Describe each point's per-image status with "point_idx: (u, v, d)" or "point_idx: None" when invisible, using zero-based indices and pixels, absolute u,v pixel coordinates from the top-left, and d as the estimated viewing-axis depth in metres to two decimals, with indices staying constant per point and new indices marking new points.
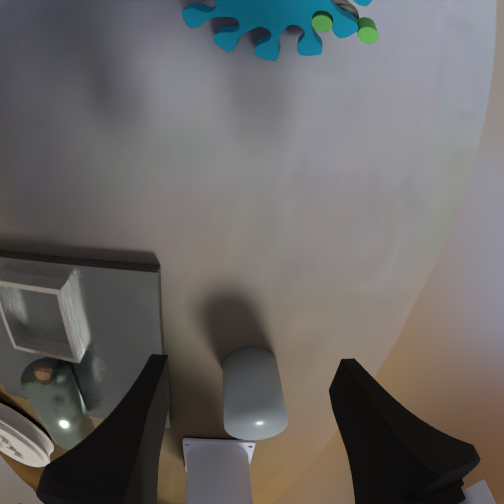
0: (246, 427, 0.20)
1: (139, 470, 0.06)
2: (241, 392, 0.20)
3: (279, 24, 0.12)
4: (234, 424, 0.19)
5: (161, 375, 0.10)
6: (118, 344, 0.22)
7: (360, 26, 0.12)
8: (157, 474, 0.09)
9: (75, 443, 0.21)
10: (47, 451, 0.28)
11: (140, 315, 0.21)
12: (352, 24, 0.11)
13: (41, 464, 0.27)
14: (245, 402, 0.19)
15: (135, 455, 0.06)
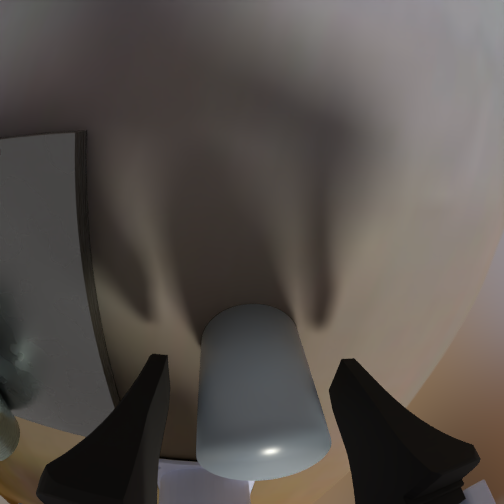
0: (243, 460, 0.09)
1: (139, 470, 0.06)
2: (232, 388, 0.09)
3: None
4: (217, 455, 0.09)
5: (161, 375, 0.10)
6: (22, 293, 0.11)
7: None
8: (157, 474, 0.09)
9: None
10: None
11: (48, 229, 0.10)
12: None
13: None
14: (240, 410, 0.08)
15: (135, 455, 0.06)
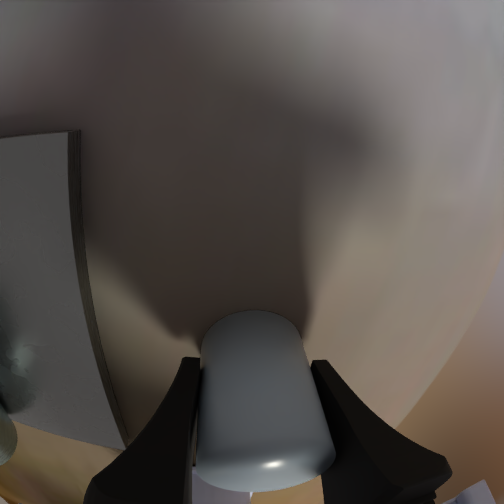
0: (245, 473, 0.08)
1: (186, 475, 0.06)
2: (233, 400, 0.09)
3: None
4: (218, 469, 0.08)
5: (197, 378, 0.10)
6: (17, 298, 0.10)
7: None
8: None
9: None
10: None
11: (41, 233, 0.09)
12: None
13: None
14: (242, 424, 0.08)
15: (184, 461, 0.06)
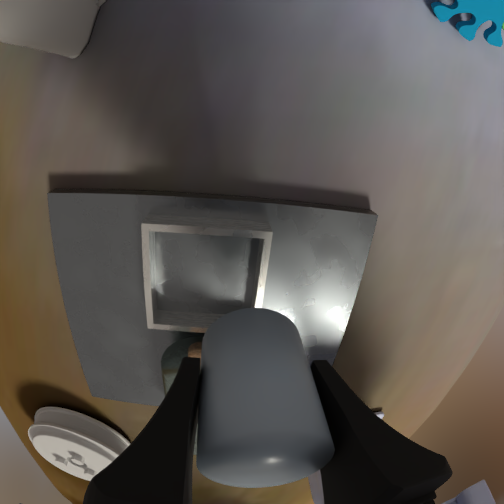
0: (245, 469, 0.08)
1: (186, 475, 0.06)
2: (229, 397, 0.09)
3: (483, 17, 0.11)
4: (218, 464, 0.08)
5: (197, 378, 0.10)
6: (304, 306, 0.20)
7: None
8: None
9: None
10: None
11: (345, 266, 0.19)
12: None
13: None
14: (237, 420, 0.08)
15: (184, 461, 0.06)
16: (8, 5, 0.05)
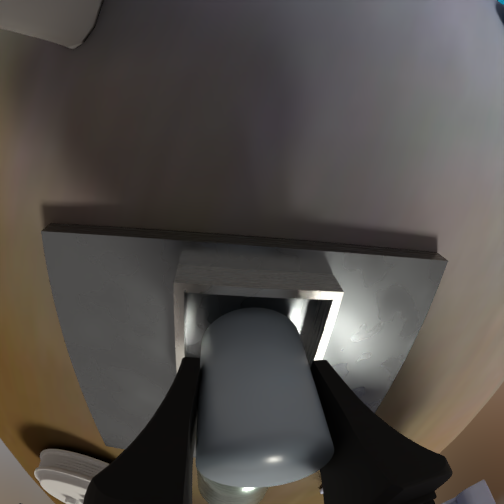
0: (244, 469, 0.08)
1: (186, 475, 0.06)
2: (228, 396, 0.09)
3: None
4: (217, 464, 0.08)
5: (197, 378, 0.10)
6: (358, 361, 0.17)
7: None
8: None
9: (255, 502, 0.16)
10: None
11: (407, 317, 0.15)
12: None
13: None
14: (236, 419, 0.08)
15: (184, 461, 0.06)
16: None
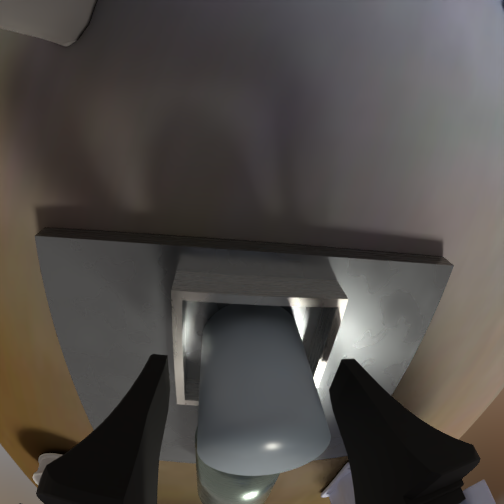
0: (244, 455, 0.09)
1: (139, 470, 0.06)
2: (228, 384, 0.09)
3: None
4: (218, 451, 0.09)
5: (161, 375, 0.10)
6: None
7: None
8: (157, 474, 0.09)
9: None
10: None
11: (412, 322, 0.15)
12: None
13: None
14: (236, 405, 0.09)
15: (135, 455, 0.06)
16: None
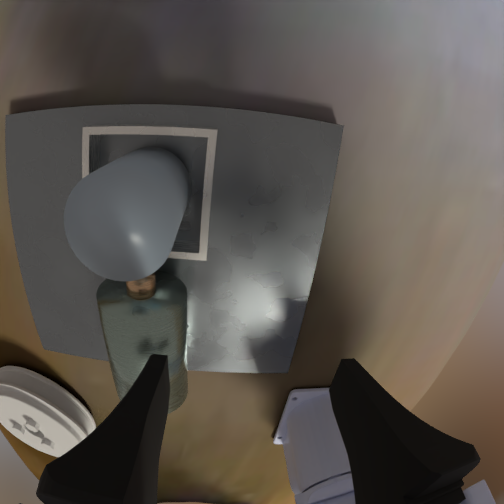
0: (100, 235, 0.11)
1: (139, 470, 0.06)
2: None
3: None
4: (79, 226, 0.11)
5: (161, 375, 0.10)
6: (264, 233, 0.18)
7: None
8: (157, 474, 0.09)
9: None
10: None
11: (309, 183, 0.17)
12: None
13: None
14: None
15: (135, 455, 0.06)
16: None
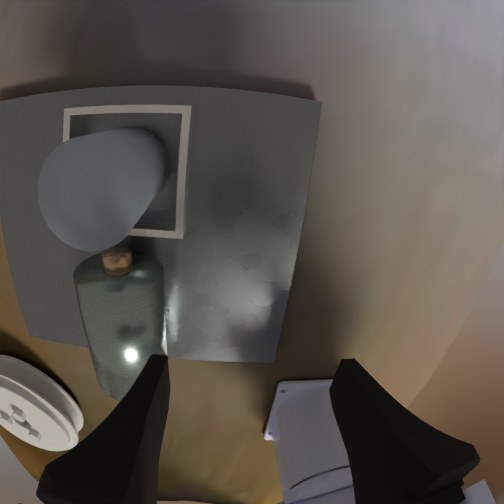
0: (70, 204, 0.10)
1: (139, 470, 0.06)
2: None
3: None
4: (51, 195, 0.10)
5: (161, 375, 0.10)
6: (243, 212, 0.17)
7: None
8: (157, 474, 0.09)
9: None
10: (75, 427, 0.24)
11: (288, 160, 0.16)
12: None
13: (66, 446, 0.23)
14: None
15: (135, 455, 0.06)
16: None
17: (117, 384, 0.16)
